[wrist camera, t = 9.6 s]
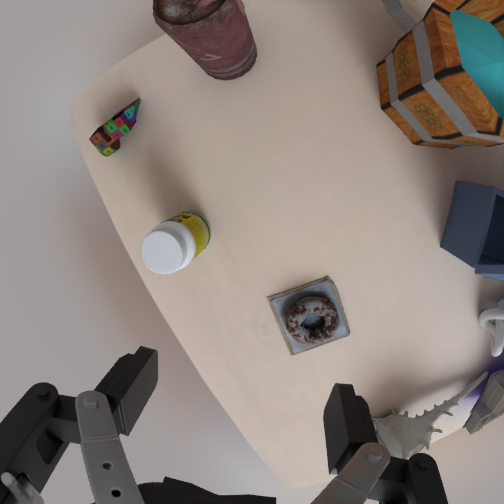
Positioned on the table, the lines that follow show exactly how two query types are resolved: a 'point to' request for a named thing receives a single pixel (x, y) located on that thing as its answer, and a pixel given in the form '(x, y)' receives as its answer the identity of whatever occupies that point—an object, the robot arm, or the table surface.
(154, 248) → the supplement bottle
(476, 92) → the mug
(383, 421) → the seashell
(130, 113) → the block
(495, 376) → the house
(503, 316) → the knot
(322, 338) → the donut
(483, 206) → the compartment
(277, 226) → the table surface
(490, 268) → the compartment lid
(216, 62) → the can
